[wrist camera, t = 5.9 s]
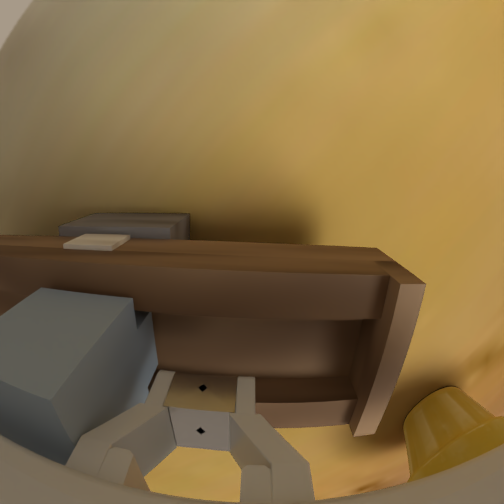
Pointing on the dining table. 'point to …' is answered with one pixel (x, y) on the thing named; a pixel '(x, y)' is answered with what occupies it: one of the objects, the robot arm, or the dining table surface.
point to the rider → (71, 367)
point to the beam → (241, 309)
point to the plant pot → (448, 432)
